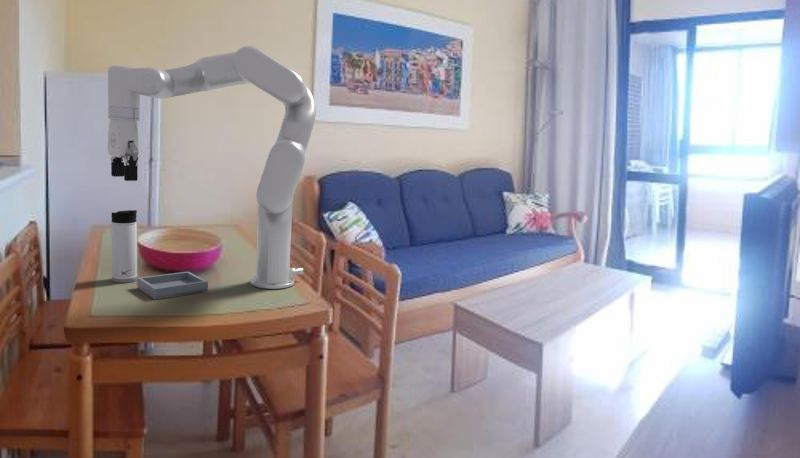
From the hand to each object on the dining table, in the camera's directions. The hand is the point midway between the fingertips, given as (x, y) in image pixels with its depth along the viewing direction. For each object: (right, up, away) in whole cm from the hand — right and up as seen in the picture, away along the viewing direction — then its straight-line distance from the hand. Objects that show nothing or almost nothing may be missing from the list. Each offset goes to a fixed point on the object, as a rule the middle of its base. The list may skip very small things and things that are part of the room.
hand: (124, 178), depth 152 cm
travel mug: (-2, -28, +5) cm, 29 cm away
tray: (+13, -30, 0) cm, 33 cm away
